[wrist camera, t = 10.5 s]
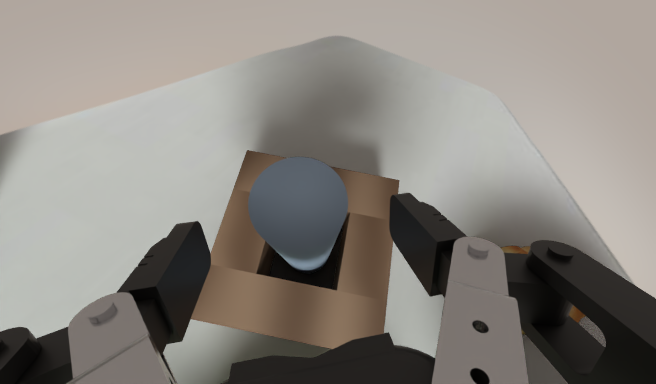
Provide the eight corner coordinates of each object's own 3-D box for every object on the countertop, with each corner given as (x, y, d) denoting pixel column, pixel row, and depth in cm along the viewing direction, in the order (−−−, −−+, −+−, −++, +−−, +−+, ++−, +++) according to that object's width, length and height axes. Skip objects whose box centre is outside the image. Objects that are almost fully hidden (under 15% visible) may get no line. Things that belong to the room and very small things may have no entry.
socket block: (216, 311, 20) (187, 318, 16) (259, 176, 25) (247, 150, 20) (365, 342, 20) (380, 359, 16) (382, 201, 24) (399, 180, 20)
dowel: (282, 268, 22) (234, 239, 9) (293, 227, 23) (264, 148, 10) (324, 277, 22) (338, 261, 9) (332, 235, 23) (355, 166, 10)
